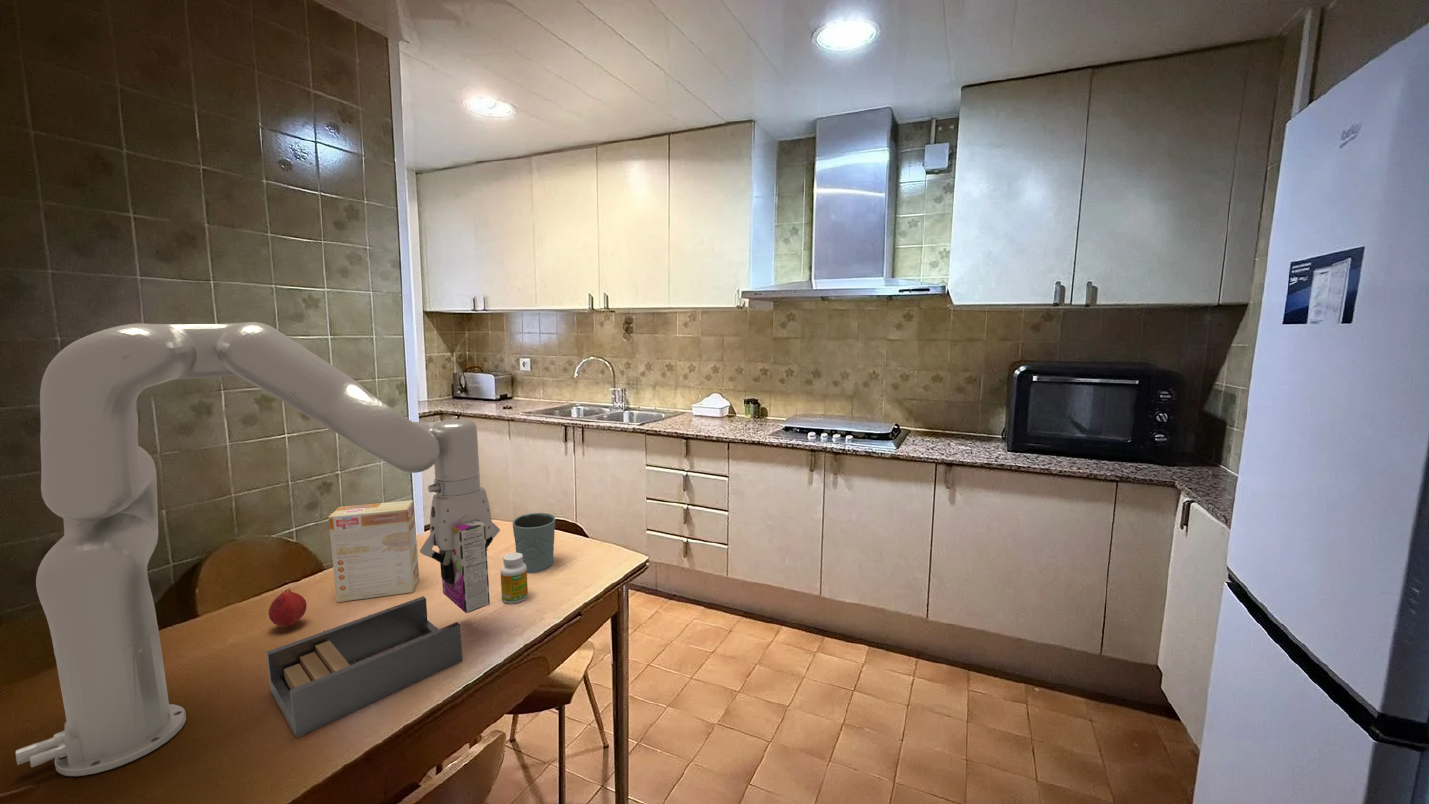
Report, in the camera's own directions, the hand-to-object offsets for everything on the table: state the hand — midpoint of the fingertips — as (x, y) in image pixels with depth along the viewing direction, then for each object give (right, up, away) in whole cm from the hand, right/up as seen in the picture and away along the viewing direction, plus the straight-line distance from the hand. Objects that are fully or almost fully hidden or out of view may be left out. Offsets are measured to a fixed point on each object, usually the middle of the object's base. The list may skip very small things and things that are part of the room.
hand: (464, 575), depth 104 cm
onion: (-36, -11, +3) cm, 38 cm away
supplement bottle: (+4, -10, +15) cm, 18 cm away
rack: (-10, -13, -12) cm, 21 cm away
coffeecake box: (-27, -9, +18) cm, 34 cm away
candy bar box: (0, -5, +1) cm, 5 cm away
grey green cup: (+4, -8, +31) cm, 32 cm away
